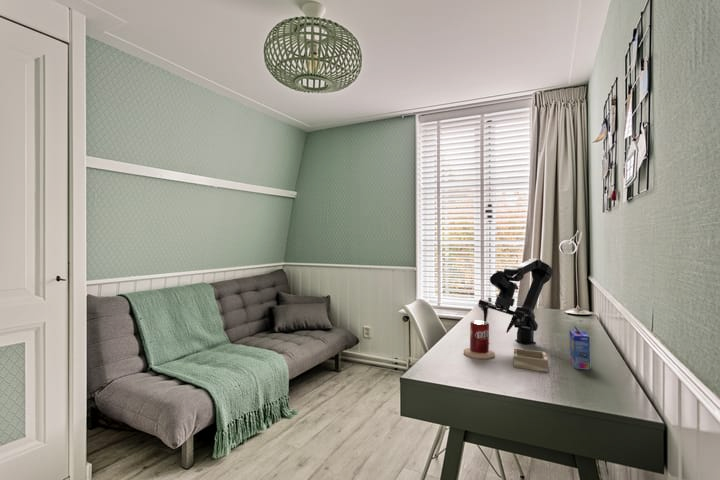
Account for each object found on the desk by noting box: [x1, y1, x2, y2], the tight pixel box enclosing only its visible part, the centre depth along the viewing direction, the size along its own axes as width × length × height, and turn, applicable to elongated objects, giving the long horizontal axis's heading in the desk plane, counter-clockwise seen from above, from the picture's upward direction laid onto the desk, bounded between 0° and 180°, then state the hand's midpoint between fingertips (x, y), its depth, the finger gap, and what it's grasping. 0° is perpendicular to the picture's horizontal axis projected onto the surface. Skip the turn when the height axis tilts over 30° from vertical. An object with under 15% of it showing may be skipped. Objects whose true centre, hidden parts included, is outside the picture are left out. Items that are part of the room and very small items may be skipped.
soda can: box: [469, 320, 490, 354], centre depth 157 cm, size 7×7×12 cm
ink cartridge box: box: [569, 325, 591, 371], centre depth 145 cm, size 10×6×14 cm, turn 161°
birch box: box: [513, 348, 549, 372], centre depth 144 cm, size 11×11×4 cm
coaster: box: [463, 347, 496, 360], centre depth 157 cm, size 12×12×1 cm
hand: (495, 328), depth 162 cm, fingers open, 9 cm apart
